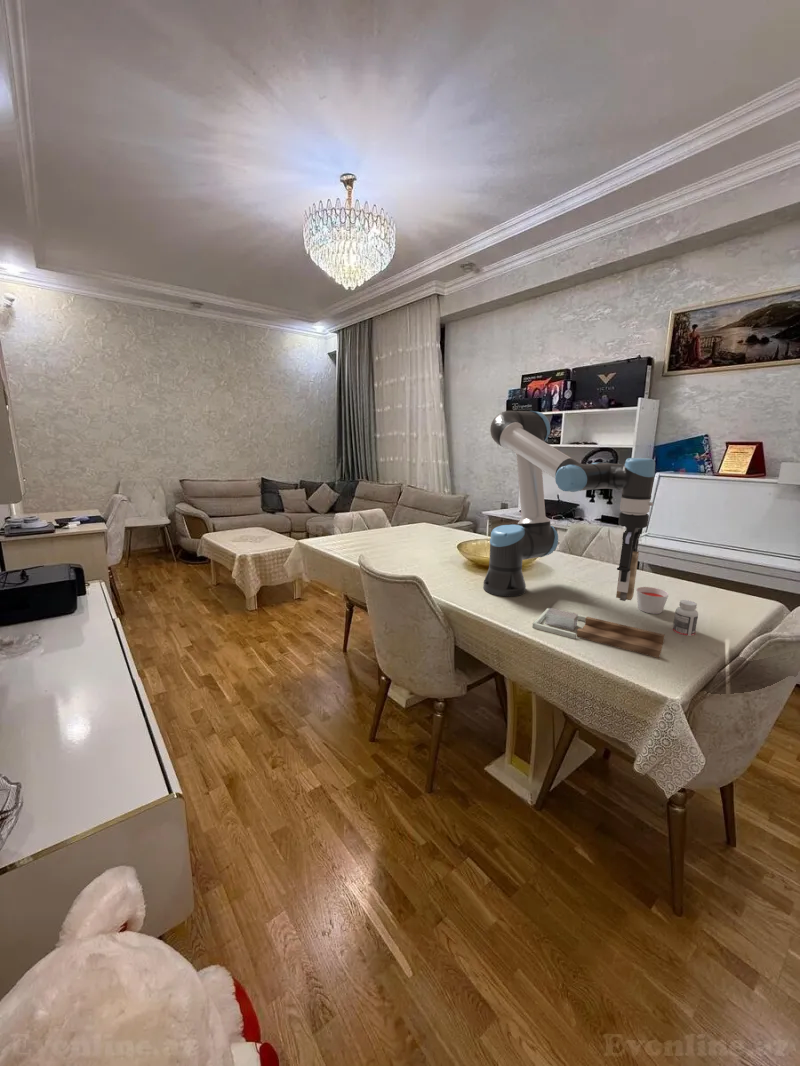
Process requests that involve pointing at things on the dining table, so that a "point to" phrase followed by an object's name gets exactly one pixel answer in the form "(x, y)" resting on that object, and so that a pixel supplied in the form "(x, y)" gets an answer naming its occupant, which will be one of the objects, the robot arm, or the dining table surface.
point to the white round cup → (651, 599)
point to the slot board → (622, 636)
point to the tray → (552, 629)
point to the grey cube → (553, 617)
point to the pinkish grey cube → (568, 620)
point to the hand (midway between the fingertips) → (624, 587)
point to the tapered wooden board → (633, 569)
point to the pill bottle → (685, 618)
